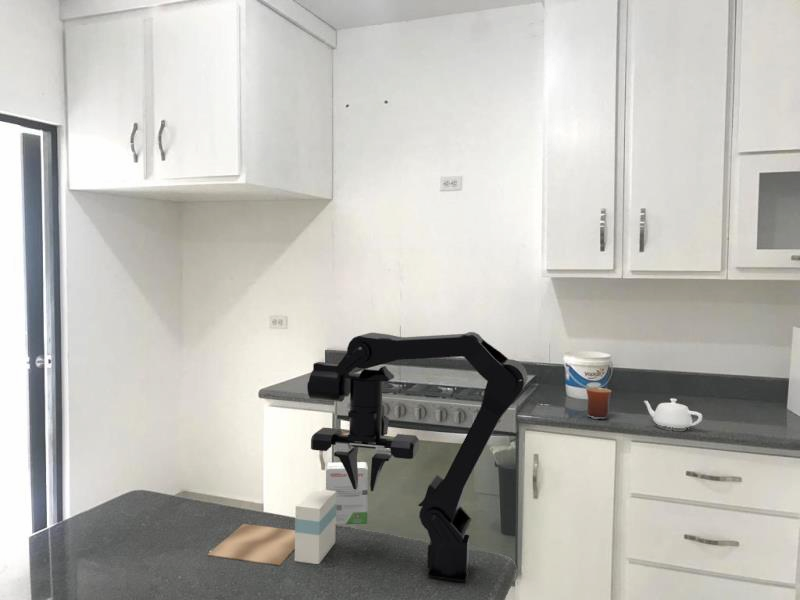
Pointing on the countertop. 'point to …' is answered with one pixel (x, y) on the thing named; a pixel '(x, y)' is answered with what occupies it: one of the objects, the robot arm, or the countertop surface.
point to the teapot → (673, 415)
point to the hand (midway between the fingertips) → (364, 489)
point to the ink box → (348, 493)
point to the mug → (598, 402)
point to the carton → (315, 526)
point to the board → (257, 545)
